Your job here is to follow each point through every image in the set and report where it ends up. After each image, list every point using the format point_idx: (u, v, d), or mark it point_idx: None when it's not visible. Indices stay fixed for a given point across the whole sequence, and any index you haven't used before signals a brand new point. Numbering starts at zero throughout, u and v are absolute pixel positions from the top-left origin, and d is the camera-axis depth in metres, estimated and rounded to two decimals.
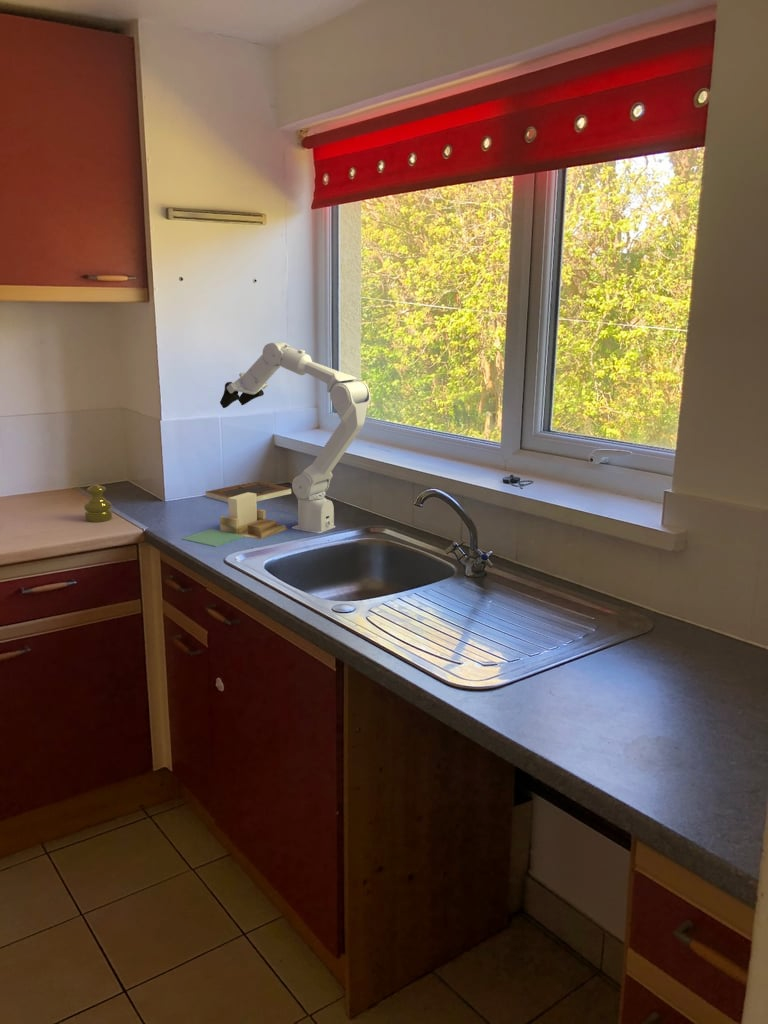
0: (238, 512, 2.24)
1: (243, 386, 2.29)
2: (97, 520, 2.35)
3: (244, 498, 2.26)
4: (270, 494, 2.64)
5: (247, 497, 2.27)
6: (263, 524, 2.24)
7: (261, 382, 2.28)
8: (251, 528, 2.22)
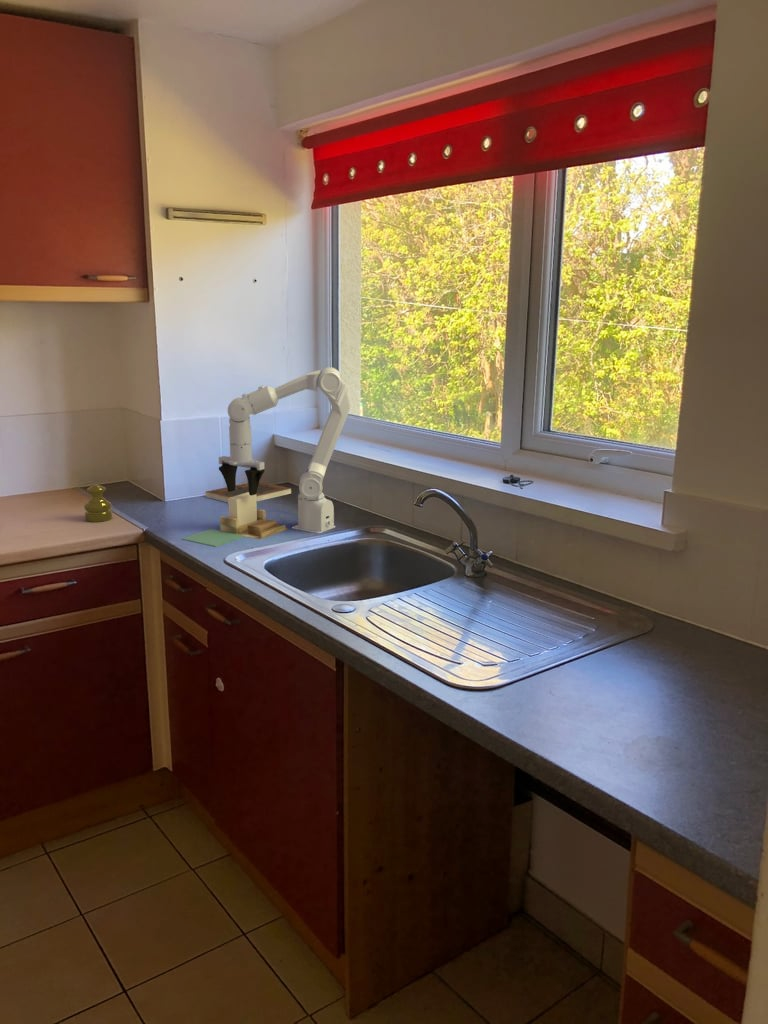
0: (238, 512, 2.24)
1: (250, 460, 2.23)
2: (97, 520, 2.35)
3: (244, 498, 2.26)
4: (270, 494, 2.64)
5: (247, 497, 2.27)
6: (263, 524, 2.24)
7: None
8: (251, 528, 2.22)
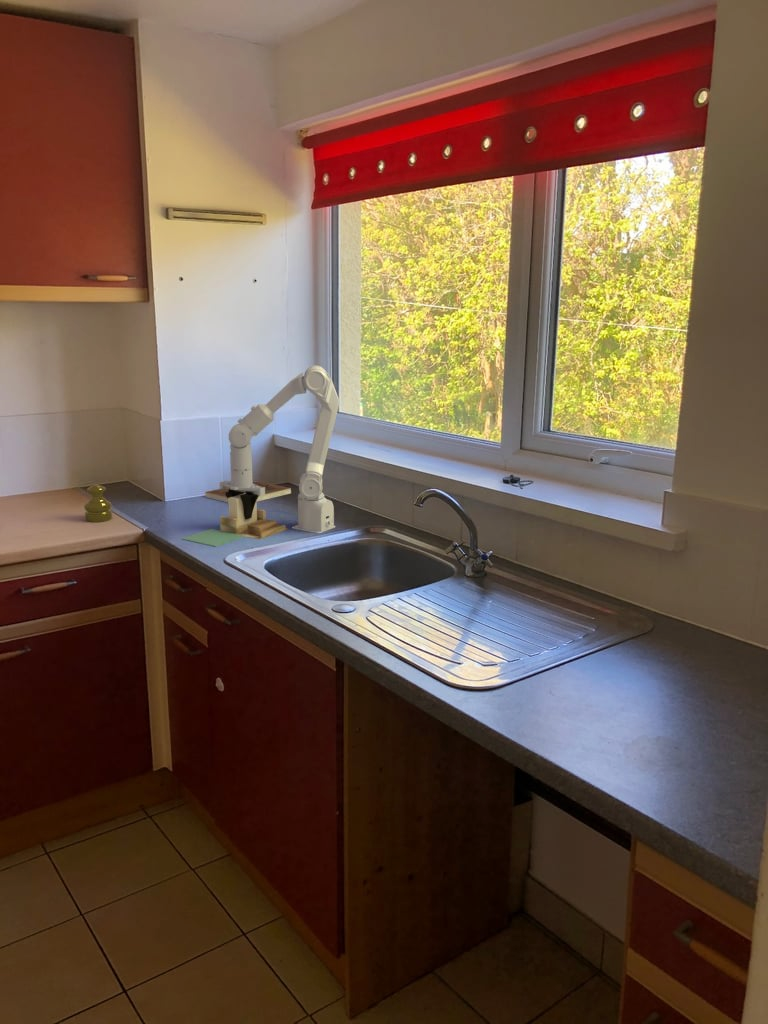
0: (238, 512, 2.24)
1: (251, 485, 2.25)
2: (97, 520, 2.35)
3: None
4: (270, 494, 2.64)
5: None
6: (263, 524, 2.24)
7: None
8: (251, 528, 2.22)
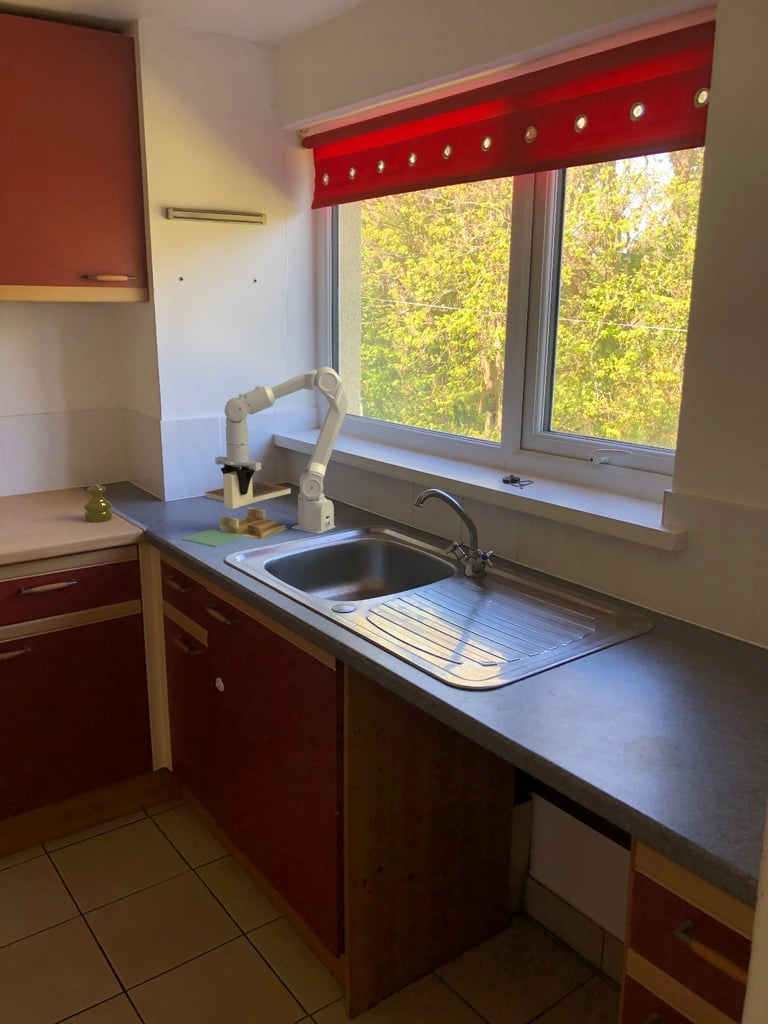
0: (233, 488, 2.21)
1: (247, 461, 2.22)
2: (97, 520, 2.35)
3: None
4: (270, 494, 2.64)
5: None
6: (263, 524, 2.24)
7: None
8: (251, 528, 2.22)
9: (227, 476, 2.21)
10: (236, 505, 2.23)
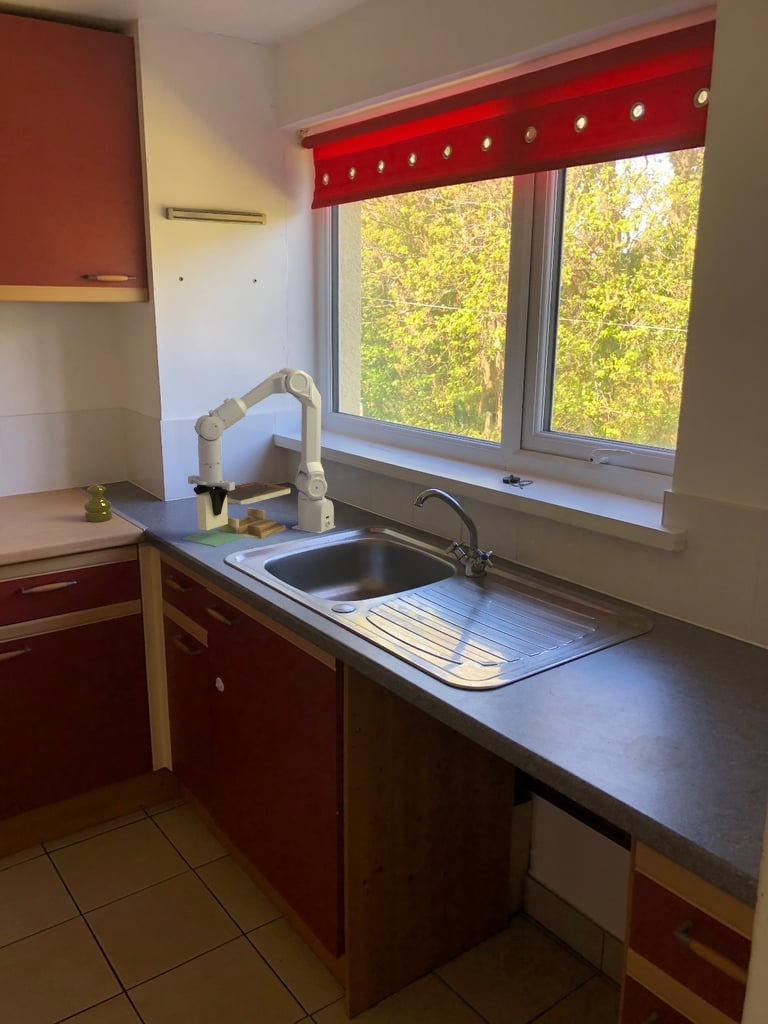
0: (206, 509, 2.14)
1: (220, 480, 2.15)
2: (97, 520, 2.35)
3: None
4: (271, 494, 2.64)
5: None
6: (263, 524, 2.24)
7: None
8: (251, 528, 2.22)
9: (200, 497, 2.14)
10: (210, 527, 2.16)
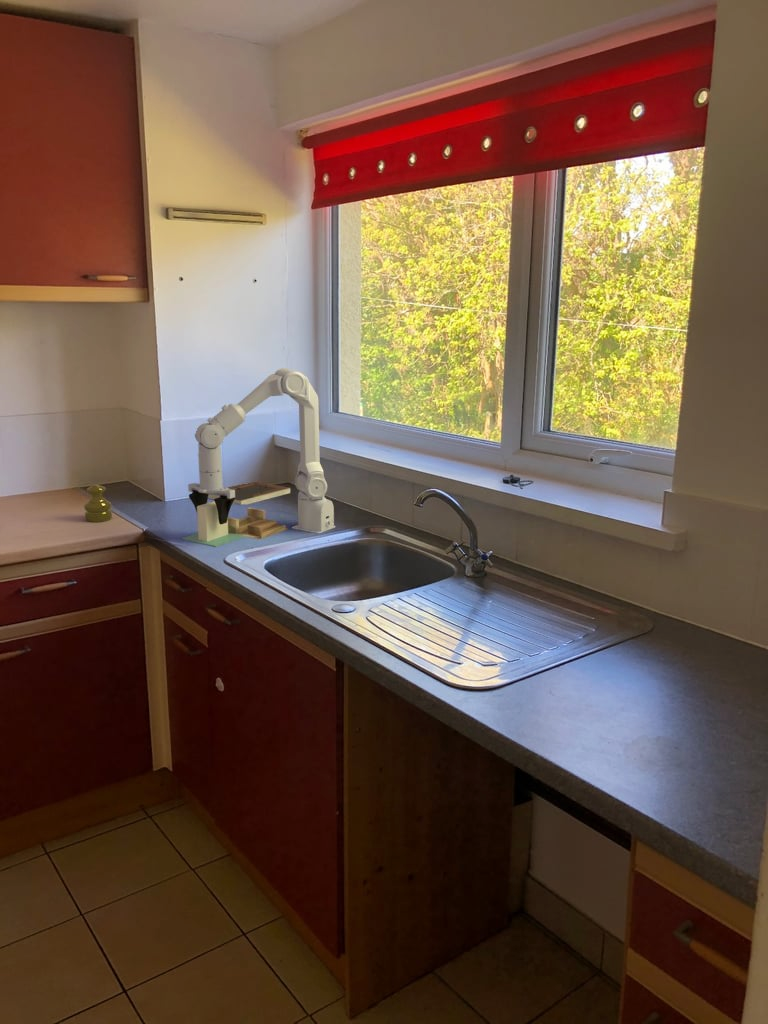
0: (207, 520, 2.15)
1: (221, 488, 2.15)
2: (97, 520, 2.35)
3: (214, 506, 2.16)
4: (271, 494, 2.64)
5: None
6: (263, 524, 2.24)
7: None
8: (251, 528, 2.22)
9: (201, 508, 2.14)
10: (211, 538, 2.17)
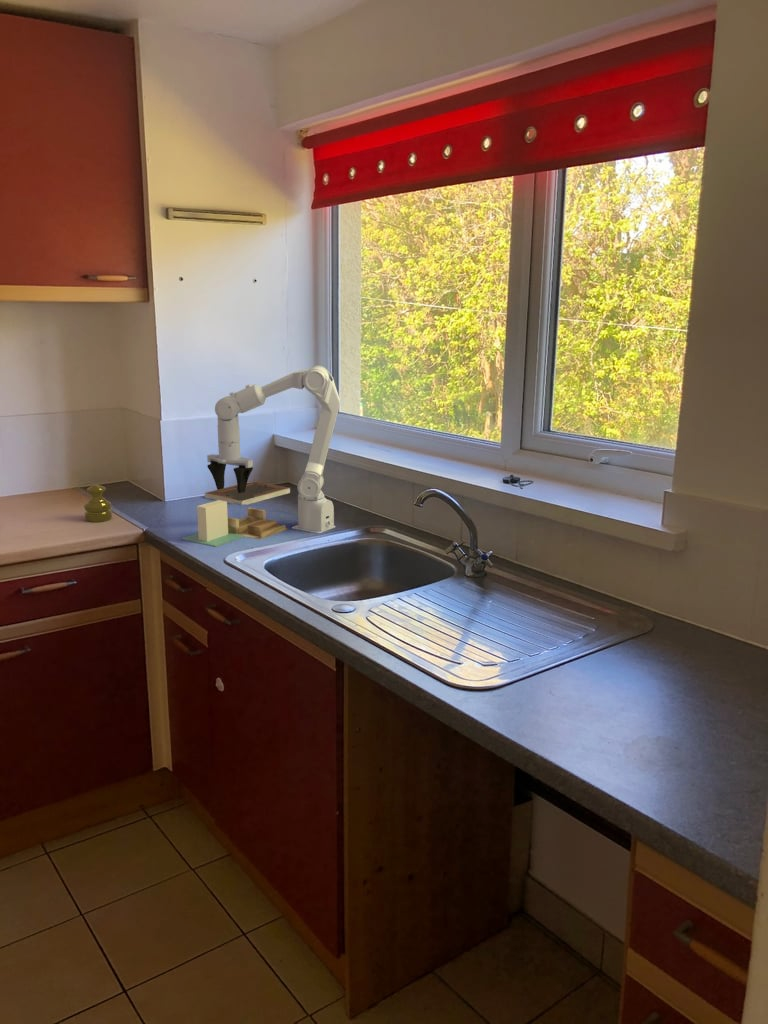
0: (207, 520, 2.15)
1: (239, 458, 2.25)
2: (97, 520, 2.35)
3: (214, 506, 2.16)
4: (271, 494, 2.64)
5: (217, 505, 2.17)
6: (263, 524, 2.24)
7: None
8: (251, 528, 2.22)
9: (201, 508, 2.14)
10: (211, 538, 2.17)
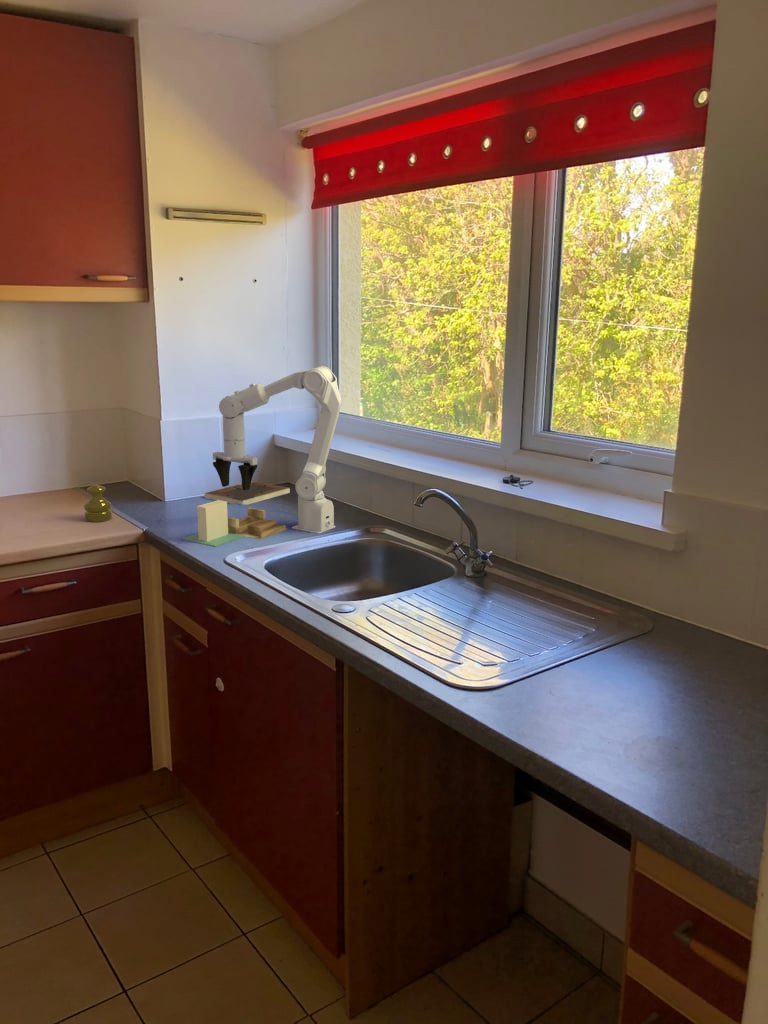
0: (207, 520, 2.15)
1: (243, 456, 2.28)
2: (97, 520, 2.35)
3: (214, 506, 2.16)
4: (271, 494, 2.64)
5: (217, 505, 2.17)
6: (263, 524, 2.24)
7: None
8: (251, 528, 2.22)
9: (201, 508, 2.14)
10: (211, 538, 2.17)
